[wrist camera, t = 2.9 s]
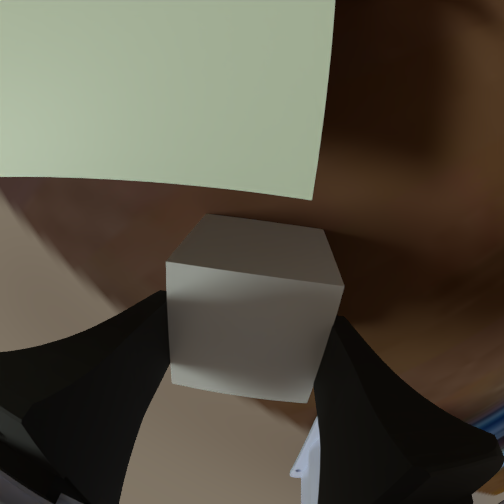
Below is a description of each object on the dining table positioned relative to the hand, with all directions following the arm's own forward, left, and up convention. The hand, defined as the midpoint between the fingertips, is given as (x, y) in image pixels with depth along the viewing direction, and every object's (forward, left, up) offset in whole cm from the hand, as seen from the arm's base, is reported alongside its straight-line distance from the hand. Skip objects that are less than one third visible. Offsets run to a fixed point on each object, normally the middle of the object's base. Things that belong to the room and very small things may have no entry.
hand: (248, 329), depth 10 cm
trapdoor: (+11, +4, +2) cm, 12 cm away
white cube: (0, 0, -2) cm, 2 cm away
